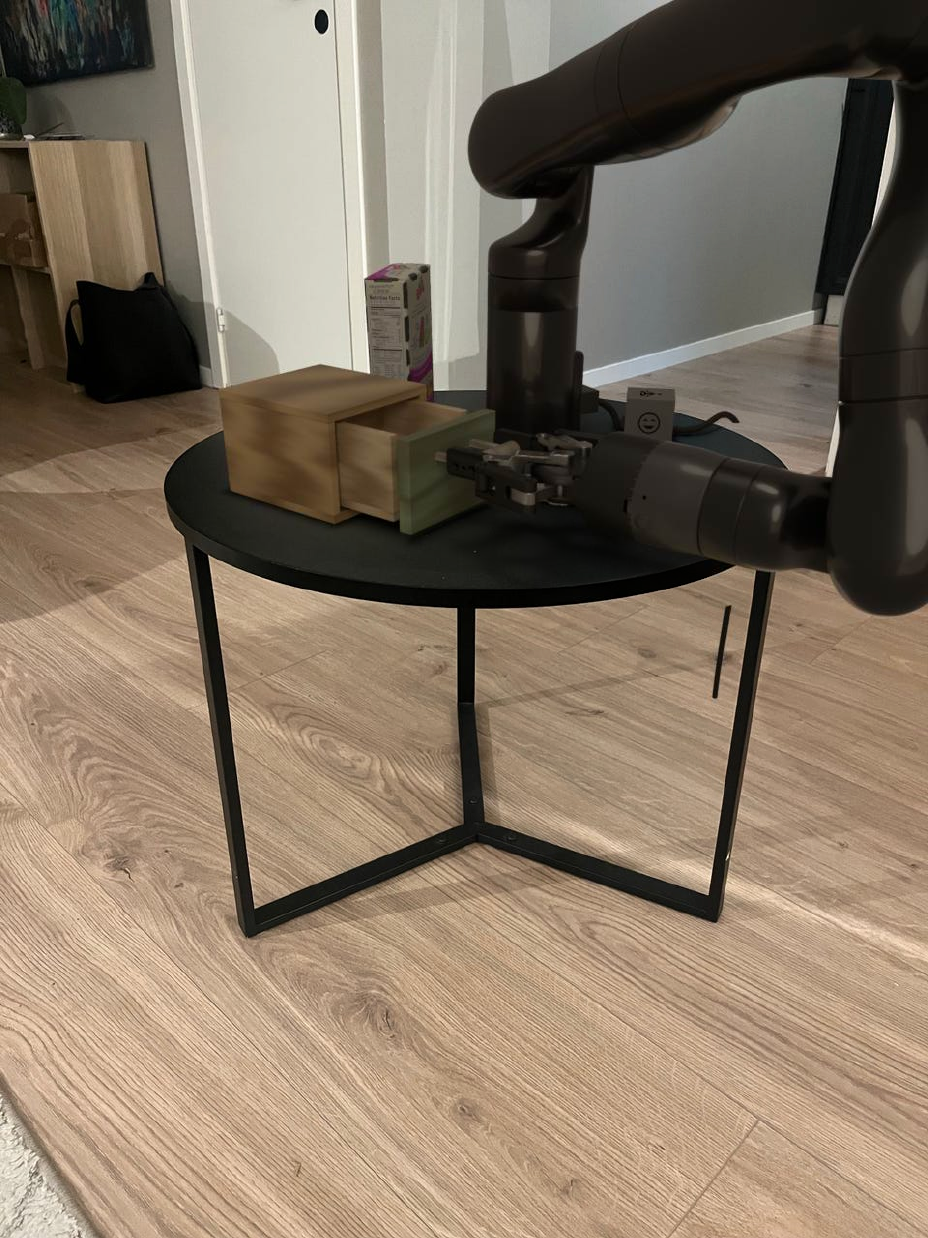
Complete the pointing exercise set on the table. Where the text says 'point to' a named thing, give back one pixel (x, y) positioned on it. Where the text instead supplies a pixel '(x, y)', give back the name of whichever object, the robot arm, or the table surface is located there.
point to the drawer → (410, 461)
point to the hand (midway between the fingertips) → (473, 450)
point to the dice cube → (650, 412)
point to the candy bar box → (401, 324)
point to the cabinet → (299, 433)
